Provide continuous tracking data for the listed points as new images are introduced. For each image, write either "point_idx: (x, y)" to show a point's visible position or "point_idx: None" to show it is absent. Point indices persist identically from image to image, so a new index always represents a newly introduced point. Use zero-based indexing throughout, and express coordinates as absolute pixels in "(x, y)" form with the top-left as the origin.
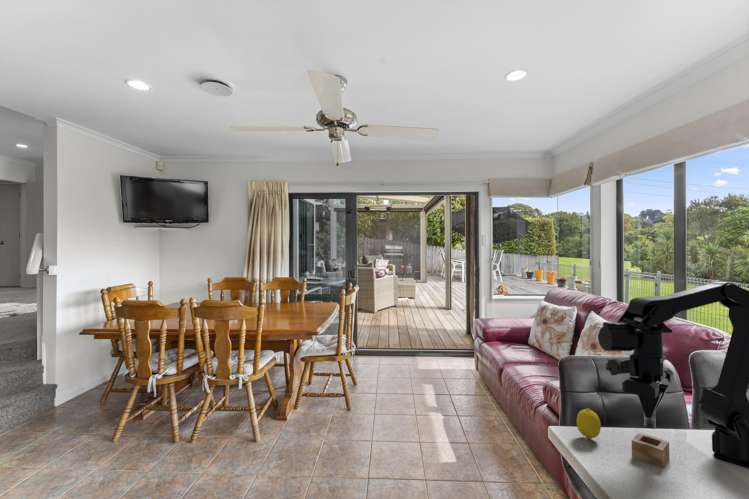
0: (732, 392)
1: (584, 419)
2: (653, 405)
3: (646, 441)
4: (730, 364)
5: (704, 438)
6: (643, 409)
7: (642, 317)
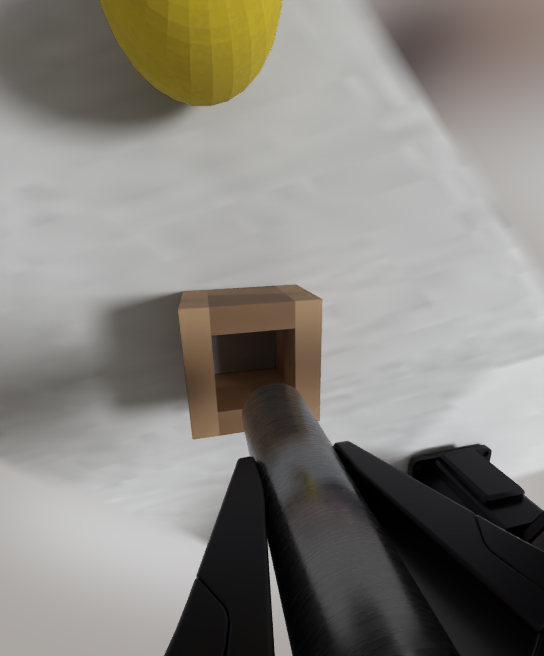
0: None
1: None
2: None
3: (288, 333)
4: None
5: (539, 398)
6: (222, 510)
7: None
